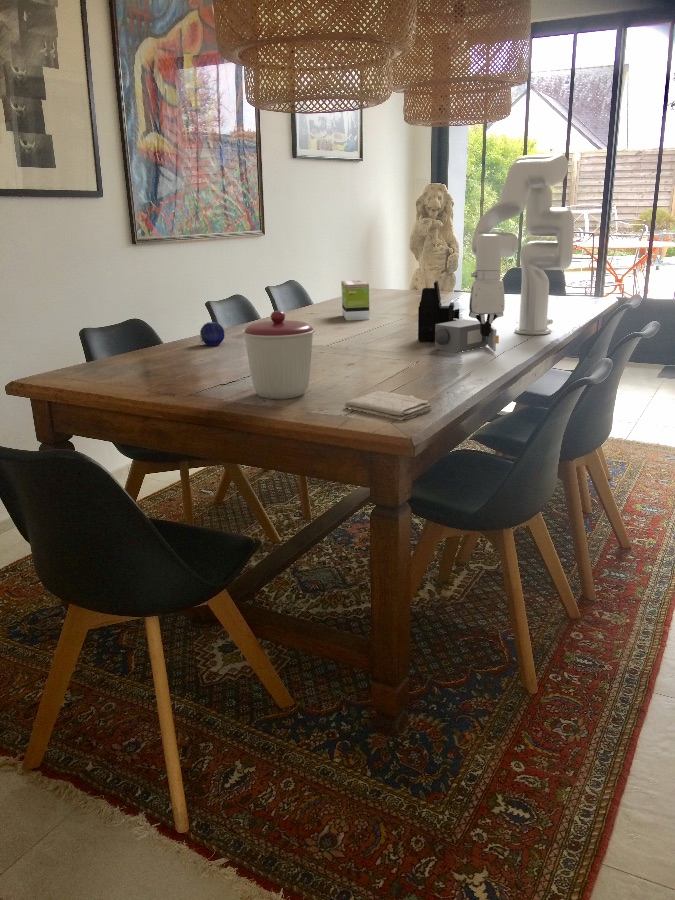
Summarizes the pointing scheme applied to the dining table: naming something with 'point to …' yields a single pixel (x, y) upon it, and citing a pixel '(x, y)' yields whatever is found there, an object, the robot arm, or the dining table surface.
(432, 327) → the camera
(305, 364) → the canister
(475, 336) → the grey device box
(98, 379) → the dining table surface
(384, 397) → the washcloth
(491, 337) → the side door
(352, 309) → the tea box
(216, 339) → the ball
